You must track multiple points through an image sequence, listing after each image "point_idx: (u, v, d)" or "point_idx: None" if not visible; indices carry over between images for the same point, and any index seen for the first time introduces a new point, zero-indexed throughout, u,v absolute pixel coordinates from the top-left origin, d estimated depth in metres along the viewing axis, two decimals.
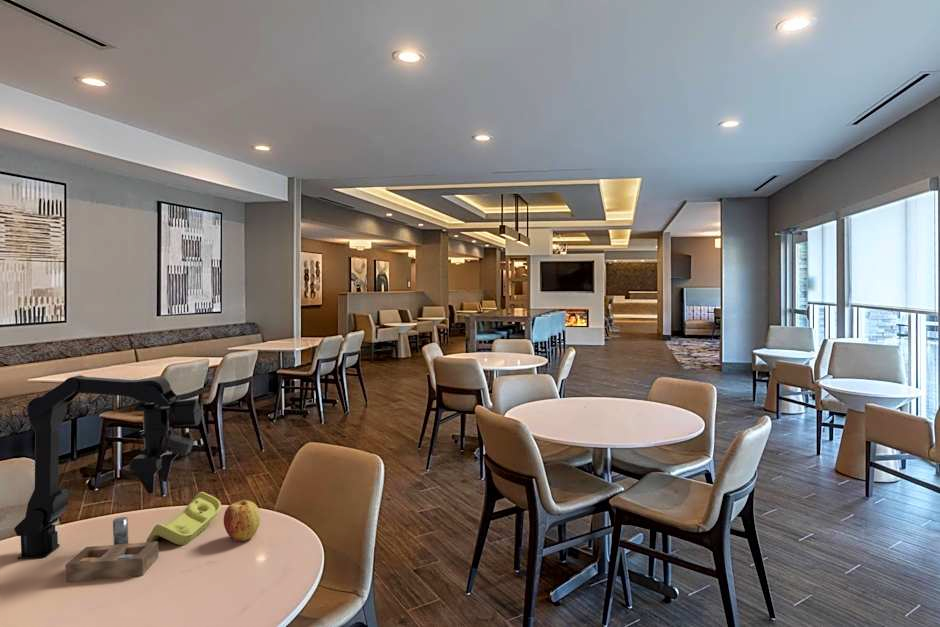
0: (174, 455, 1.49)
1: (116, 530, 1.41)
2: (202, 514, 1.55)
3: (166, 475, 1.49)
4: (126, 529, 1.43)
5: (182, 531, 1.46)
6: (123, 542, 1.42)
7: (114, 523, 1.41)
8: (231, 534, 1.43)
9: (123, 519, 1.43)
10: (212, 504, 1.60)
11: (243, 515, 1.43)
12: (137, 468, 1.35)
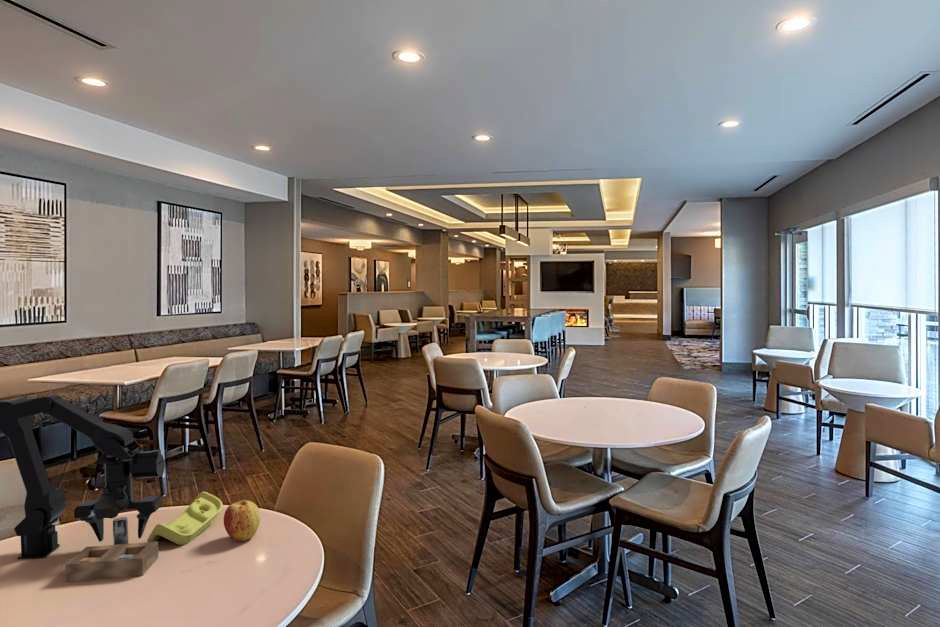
0: None
1: (116, 530, 1.41)
2: (203, 514, 1.55)
3: None
4: (126, 529, 1.43)
5: (183, 531, 1.46)
6: (123, 542, 1.42)
7: (114, 523, 1.41)
8: (231, 534, 1.43)
9: (123, 519, 1.43)
10: (214, 504, 1.61)
11: (243, 515, 1.43)
12: None
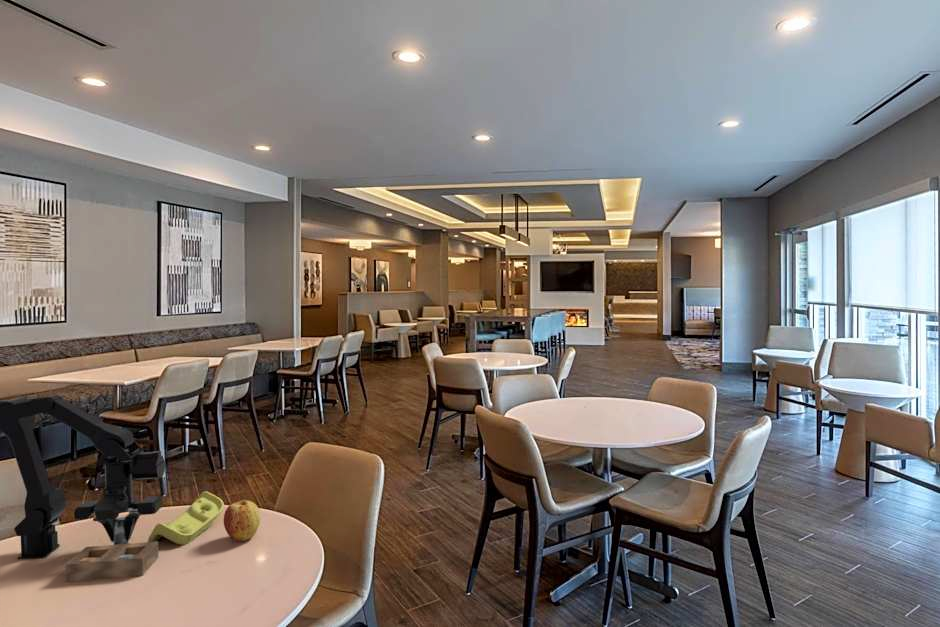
0: None
1: (116, 530, 1.41)
2: (204, 514, 1.55)
3: None
4: None
5: (183, 531, 1.46)
6: (123, 542, 1.42)
7: (114, 523, 1.41)
8: (231, 534, 1.43)
9: (123, 519, 1.43)
10: (215, 504, 1.61)
11: (243, 515, 1.43)
12: None
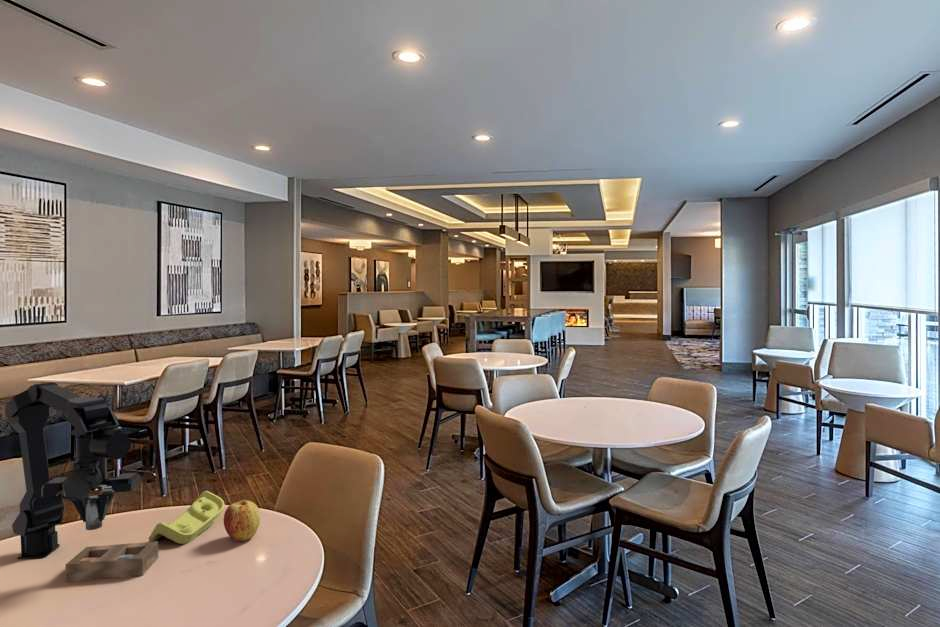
0: None
1: (89, 509, 1.28)
2: (205, 513, 1.55)
3: None
4: (99, 508, 1.30)
5: (184, 530, 1.46)
6: (96, 522, 1.29)
7: (86, 501, 1.28)
8: (231, 534, 1.43)
9: (96, 497, 1.30)
10: (216, 503, 1.61)
11: (243, 515, 1.43)
12: None
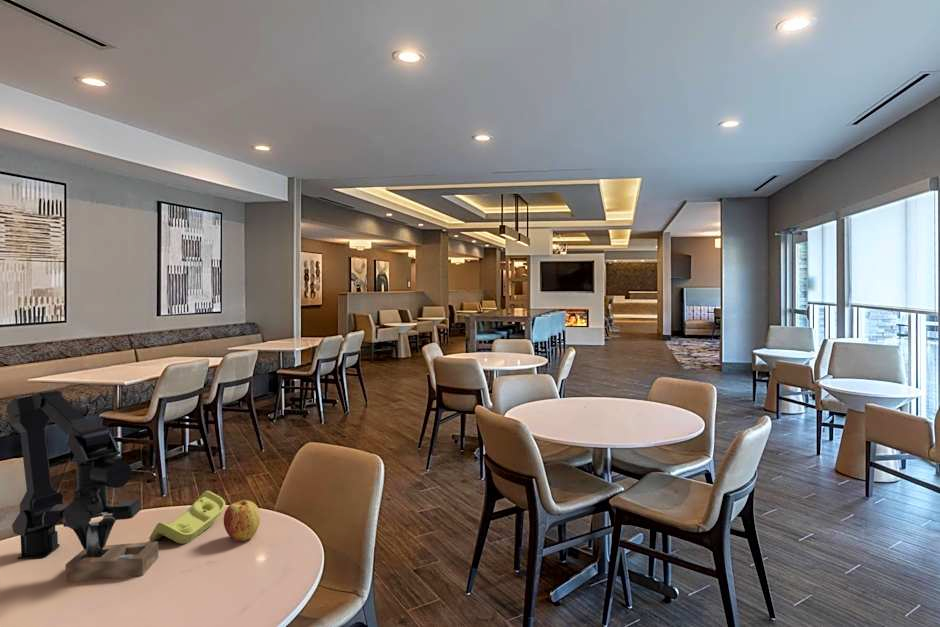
0: None
1: (89, 536, 1.29)
2: (206, 513, 1.55)
3: None
4: None
5: (184, 530, 1.47)
6: (97, 550, 1.29)
7: (87, 529, 1.29)
8: (231, 534, 1.43)
9: (97, 524, 1.30)
10: (217, 503, 1.61)
11: (243, 515, 1.43)
12: None
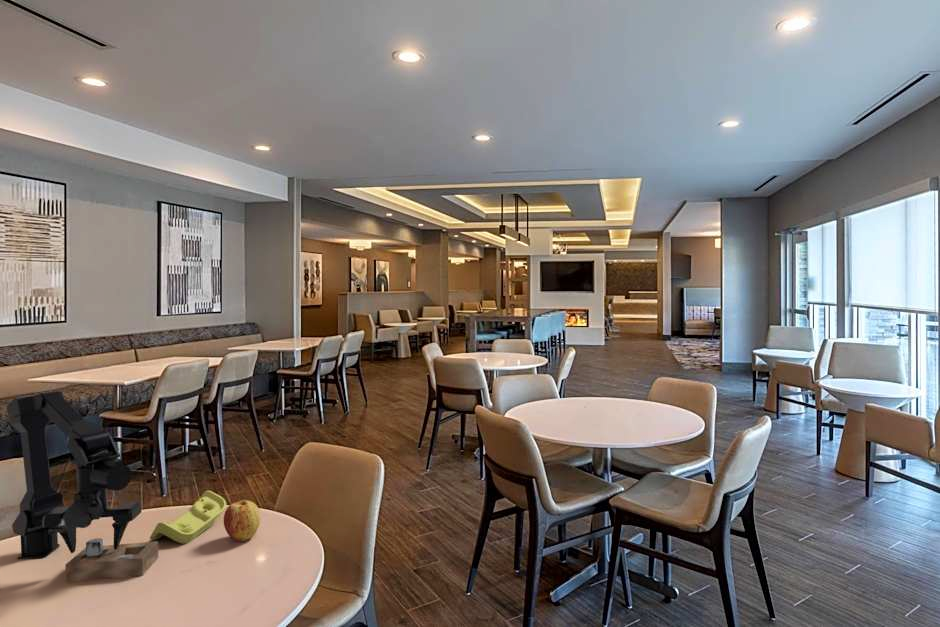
0: None
1: (90, 553, 1.29)
2: (206, 513, 1.56)
3: None
4: (101, 552, 1.30)
5: (184, 530, 1.47)
6: None
7: (87, 545, 1.29)
8: (231, 534, 1.43)
9: (97, 541, 1.30)
10: (218, 503, 1.61)
11: (243, 515, 1.43)
12: None
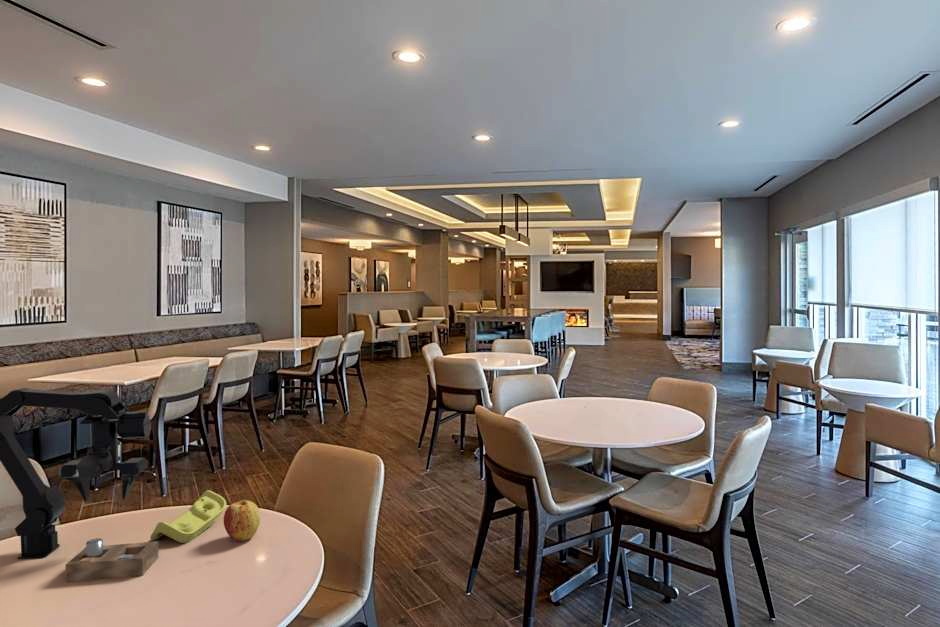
0: None
1: (90, 553, 1.29)
2: (207, 512, 1.56)
3: None
4: (101, 552, 1.30)
5: (185, 529, 1.47)
6: None
7: (87, 545, 1.29)
8: (231, 534, 1.43)
9: (98, 541, 1.30)
10: (218, 503, 1.62)
11: (243, 515, 1.43)
12: None
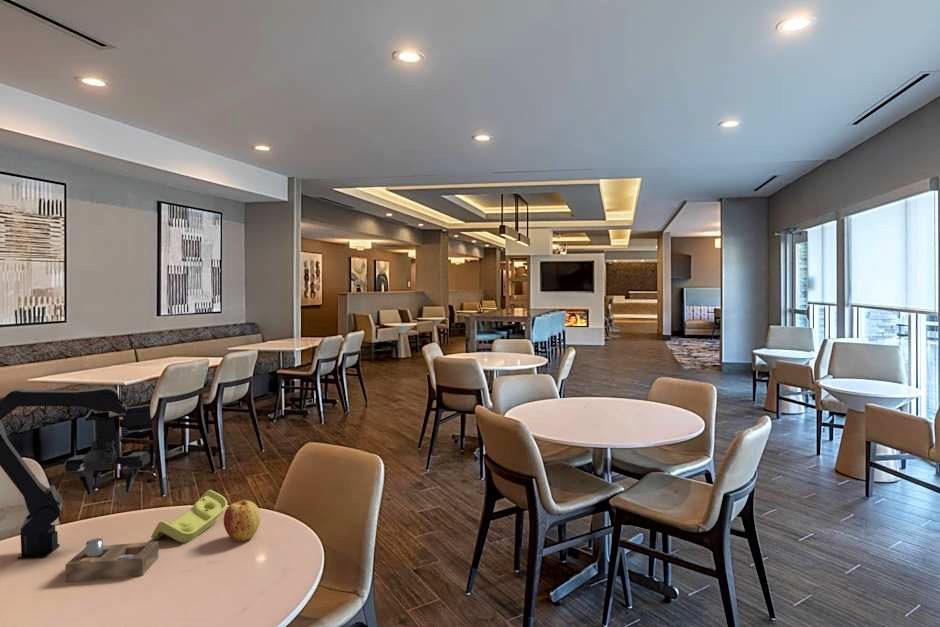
0: None
1: (90, 553, 1.29)
2: (208, 512, 1.56)
3: None
4: (101, 552, 1.30)
5: (185, 529, 1.47)
6: None
7: (87, 545, 1.29)
8: (231, 534, 1.43)
9: (98, 541, 1.30)
10: (219, 502, 1.62)
11: (243, 515, 1.43)
12: None
